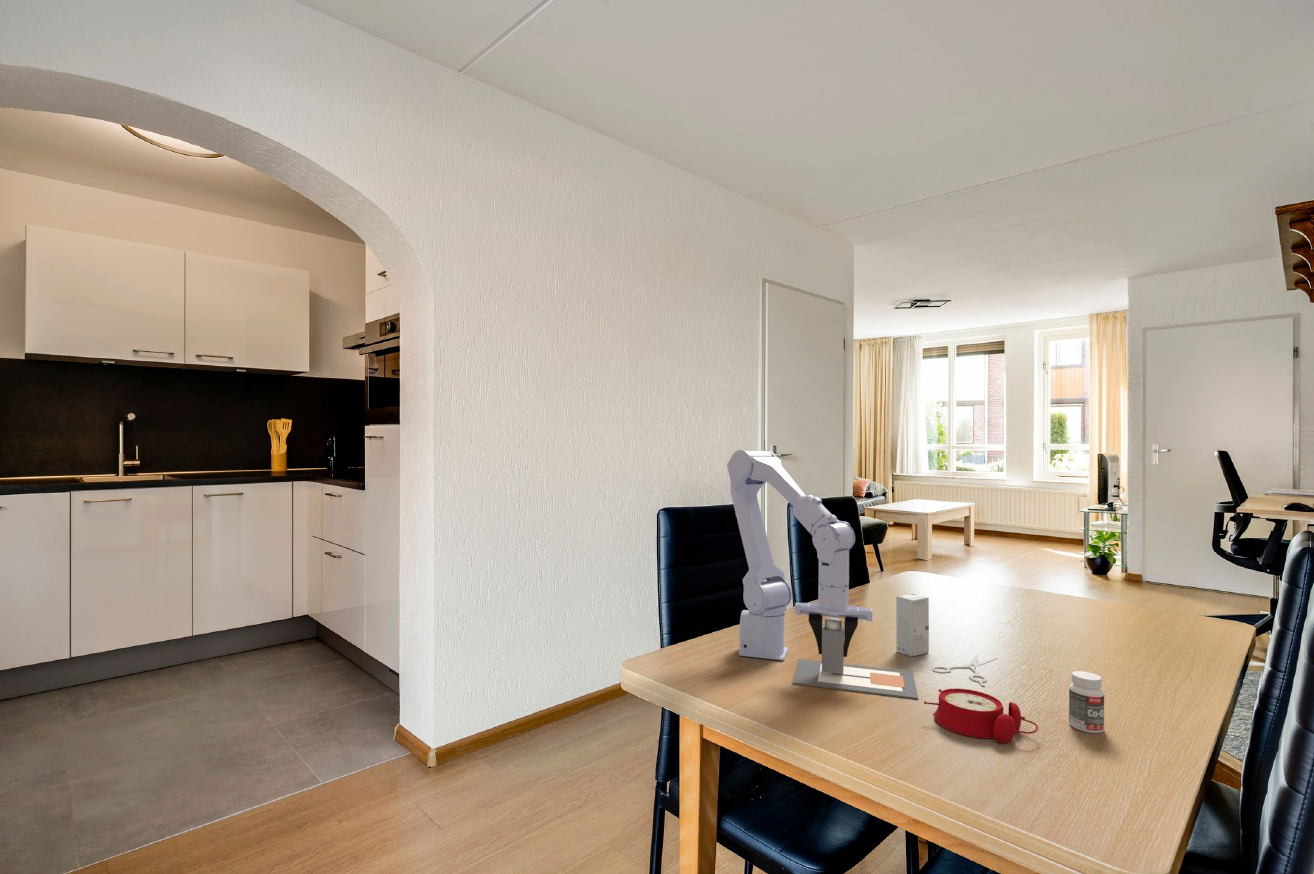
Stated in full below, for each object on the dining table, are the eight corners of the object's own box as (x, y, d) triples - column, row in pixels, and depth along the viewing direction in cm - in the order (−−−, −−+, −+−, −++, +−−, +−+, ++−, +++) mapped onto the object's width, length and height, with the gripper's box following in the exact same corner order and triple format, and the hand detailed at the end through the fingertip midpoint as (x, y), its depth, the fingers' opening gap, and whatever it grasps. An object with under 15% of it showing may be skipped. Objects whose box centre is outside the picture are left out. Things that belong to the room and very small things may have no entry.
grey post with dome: (821, 671, 124) (822, 622, 124) (822, 664, 128) (823, 616, 128) (843, 673, 123) (843, 624, 123) (843, 666, 126) (844, 618, 127)
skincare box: (912, 657, 137) (913, 600, 137) (894, 651, 140) (895, 596, 141) (930, 652, 140) (930, 596, 140) (912, 646, 144) (912, 592, 144)
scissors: (926, 671, 128) (962, 648, 142) (926, 675, 128) (962, 651, 142) (984, 685, 120) (1015, 659, 135) (984, 689, 120) (1015, 663, 135)
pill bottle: (1091, 736, 100) (1092, 682, 100) (1062, 723, 105) (1062, 672, 105) (1110, 730, 102) (1111, 678, 102) (1081, 719, 107) (1081, 668, 107)
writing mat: (792, 683, 121) (792, 681, 121) (799, 660, 134) (799, 657, 134) (918, 699, 114) (918, 696, 114) (912, 672, 127) (912, 670, 127)
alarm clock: (939, 682, 113) (1036, 685, 103) (947, 720, 112) (1046, 727, 102) (917, 700, 105) (1021, 705, 95) (926, 741, 104) (1032, 750, 94)
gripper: (793, 585, 124) (793, 656, 124) (872, 591, 119) (872, 664, 119) (797, 578, 130) (796, 645, 130) (872, 584, 126) (871, 653, 126)
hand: (832, 654), depth 125 cm, fingers closed on grey post with dome, 4 cm apart
